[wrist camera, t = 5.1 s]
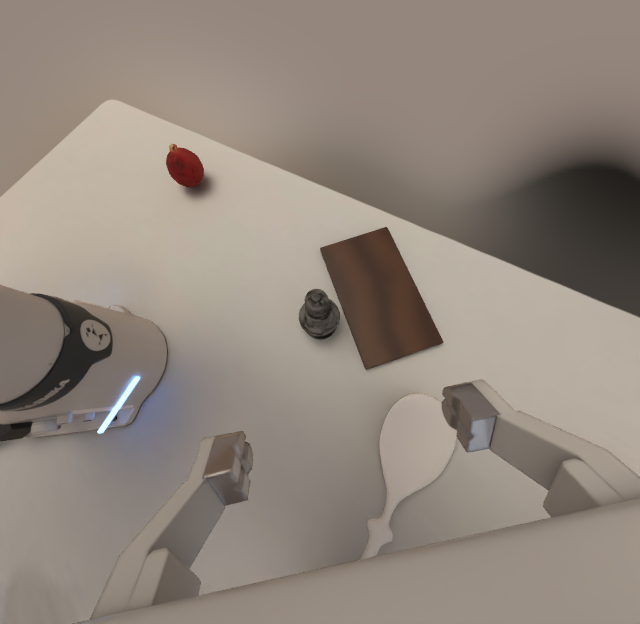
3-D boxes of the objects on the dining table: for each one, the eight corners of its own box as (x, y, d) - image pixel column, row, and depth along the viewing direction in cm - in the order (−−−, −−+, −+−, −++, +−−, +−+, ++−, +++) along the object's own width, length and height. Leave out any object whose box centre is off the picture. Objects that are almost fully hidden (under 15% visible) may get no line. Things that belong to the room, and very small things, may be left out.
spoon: (278, 629, 29) (271, 661, 25) (400, 381, 36) (407, 380, 33) (347, 689, 27) (349, 731, 24) (460, 416, 34) (474, 419, 31)
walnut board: (365, 369, 37) (366, 369, 36) (320, 250, 43) (320, 247, 42) (440, 343, 37) (443, 342, 37) (385, 230, 44) (387, 226, 43)
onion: (210, 195, 48) (187, 157, 40) (180, 198, 48) (151, 161, 40) (211, 171, 49) (189, 131, 42) (182, 174, 49) (155, 135, 42)
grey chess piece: (317, 348, 38) (311, 331, 27) (294, 320, 40) (278, 291, 28) (347, 324, 39) (353, 297, 28) (323, 297, 40) (319, 261, 29)
